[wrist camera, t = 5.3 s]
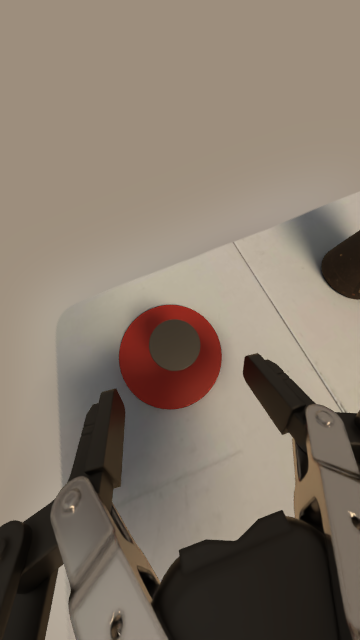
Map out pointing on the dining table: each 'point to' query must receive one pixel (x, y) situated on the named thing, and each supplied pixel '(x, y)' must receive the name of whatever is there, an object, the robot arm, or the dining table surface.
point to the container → (344, 267)
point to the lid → (170, 357)
